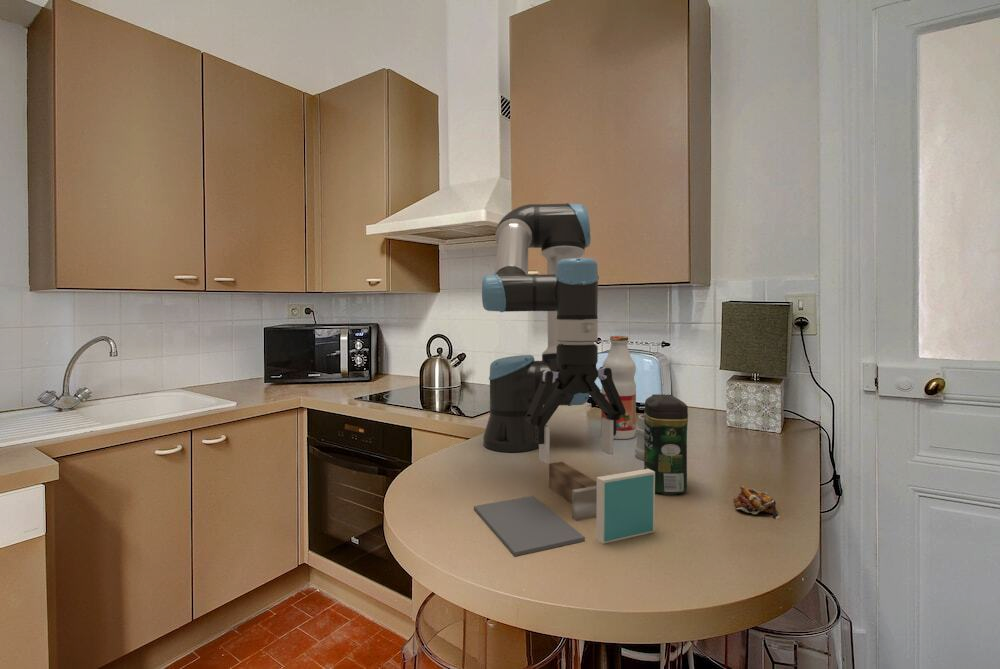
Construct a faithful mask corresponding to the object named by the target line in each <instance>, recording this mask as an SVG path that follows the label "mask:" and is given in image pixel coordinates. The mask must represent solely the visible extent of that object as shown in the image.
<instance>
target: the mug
mask: <svg viewBox="0 0 1000 669" xmlns="http://www.w3.org/2000/svg"><path fill="white" fill-rule="evenodd" d="M644 422H645V413H644V414H643V413H642V414H639V415H638V416H637V427H636V433H637V435H636V445H635V447H634V453H636V455H635V456H636V458H637V459H639V460H641V461H644Z"/></svg>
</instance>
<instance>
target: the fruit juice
mask: <svg viewBox="0 0 1000 669" xmlns="http://www.w3.org/2000/svg"><path fill="white" fill-rule="evenodd" d="M609 340H610V348H609V351H608V353H607V356H606V358H605V359H604V361H603V363H602V366H601V367H606V368H610V369H611V371H612V380H613V382H614V385H615V387H616V389H617V392H618V394H619V396H620V399H621V401H622V403H623V406H624V408H625V410H626V413H625V415H621V416H620V419H619V420H616V435H614V436H613V440H630V439H633V438H635V436H636V433H637V427H636V424H637V420H636V418H637V385H636V382H635V374H636V372H637V368H636V363H635V361H634V360H633V357H631V353H630V351H629V348H628V343H629V336H628V335H611V336H610V339H609ZM601 393H602V394H603V396H604V397H605V398H606V400H607V401H608V402H609V400H608V398H607V396H606V393H605V391H604V389H603V386H602V385H601ZM609 404H610V403H609ZM600 416H601V422H600V423H601V425H600V426H601V429H600V431H601V432H602V418H607V417H606V415H605V414H604V413H603V412H602V410H601V415H600Z"/></svg>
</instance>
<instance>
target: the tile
mask: <svg viewBox="0 0 1000 669" xmlns="http://www.w3.org/2000/svg"><path fill="white" fill-rule="evenodd" d="M596 482H597V512H596V517H595V518H596V523H595V525H596V526H595V527H596V528H595V529H596V530H595V531H596V532H595V536H596V539H595V540H596V541H598V542H599V543H600V544H601V545H604V544H607V543H608V544H609V543H613V542H617V541H621V540H626V539H630V538H635V537H638V536H643V535H648V534H651V533H655V503H656V501H655V500H656V494H655V493H656V492H655V472H654V471H652V470H650V469H644V468H643V469H640V470H639V469H638V470H633V471H626V472H620V473H613V474H607V475H602V476H597V477H596Z"/></svg>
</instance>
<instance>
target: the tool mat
mask: <svg viewBox="0 0 1000 669" xmlns="http://www.w3.org/2000/svg"><path fill="white" fill-rule="evenodd" d="M473 510H474V511H475V512H476V513H477V515H478V516H479V517H480V518H481V519H482V521H483V522H484V523H485V524H486V525H487V526H488V527H489V528H490V529H491V531H492V532H493V533H494V534H495V535H496V537H497V538H498V539H499V540H500V541H501V542H502V544H503V545H504V546H505V547H506V548H507V549H508V551H510V553H511V554H512V556H514V557H518V556H522V555H523V556H524V555H526V554H527V555H529V554H531V553H536V552H541V551H545V550H546V551H547V550H549V549H550V550H551V549H554V548H558V547H563V546H568V545H569V546H570V545H572V544H576V543H577V544H578V543H581V542H585V540H586V536H584V535H582V533H580V532H579V531H578V530H577V529H575V528H574V527H573V526H572V525H570V524H569V523H568V522H567V521H565V520H564V519H563V518H562V517H560V516H559V515H558V514H557V513H556V512H555V511H553V510H552V509H550V508H549V507H548V506H547V505H546V504H545V503H543V502H542V501H540V500H539V499H538V498H537V497H536V496H534V495H532V496H531V495H530V496H525V497H519V498H514V499H508V500H507V499H506V500H501V501H495V502H490V503H485V504H477V505H474V506H473Z"/></svg>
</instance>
